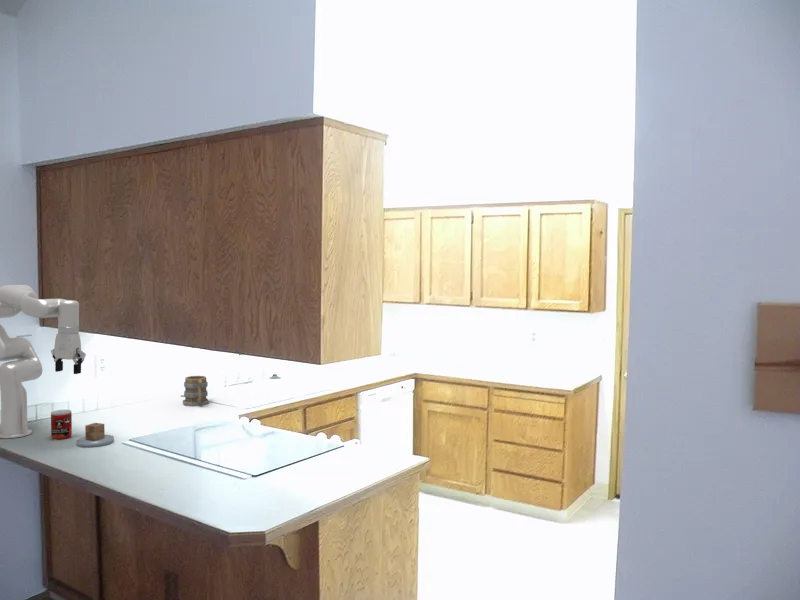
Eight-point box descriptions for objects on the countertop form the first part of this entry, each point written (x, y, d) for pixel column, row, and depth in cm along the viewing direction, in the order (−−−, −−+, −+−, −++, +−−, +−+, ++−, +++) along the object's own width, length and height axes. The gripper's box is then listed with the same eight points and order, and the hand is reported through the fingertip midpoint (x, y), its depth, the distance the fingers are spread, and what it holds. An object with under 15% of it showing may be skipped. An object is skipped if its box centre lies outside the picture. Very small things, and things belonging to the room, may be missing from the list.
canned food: (49, 440, 267) (48, 414, 266) (53, 435, 274) (53, 409, 274) (69, 439, 269) (69, 413, 268) (73, 434, 276) (73, 409, 276)
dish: (68, 445, 260) (68, 441, 260) (95, 436, 273) (95, 433, 273) (94, 449, 255) (94, 445, 255) (121, 440, 268) (121, 436, 268)
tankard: (181, 402, 342) (181, 374, 341) (206, 400, 347) (206, 372, 346) (186, 410, 324) (186, 380, 323) (212, 408, 329) (212, 379, 328)
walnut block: (85, 439, 263) (85, 425, 262) (95, 436, 267) (94, 422, 267) (95, 441, 261) (94, 426, 261) (104, 438, 266) (104, 423, 265)
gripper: (44, 329, 260) (44, 371, 262) (77, 333, 255) (76, 376, 256) (60, 328, 267) (59, 368, 269) (92, 331, 262) (91, 373, 263)
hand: (68, 372), depth 262 cm, fingers open, 9 cm apart
